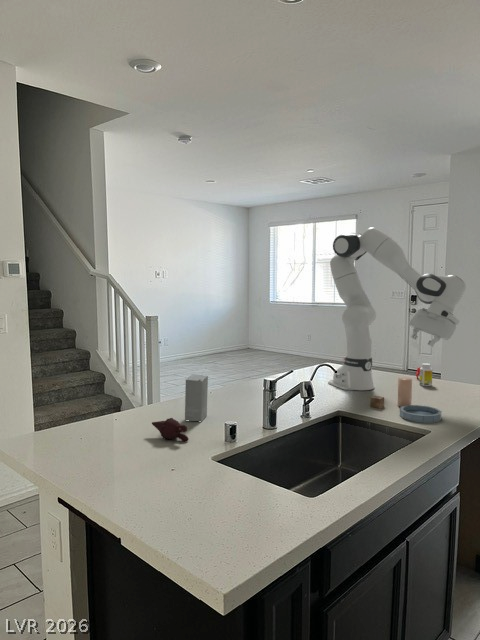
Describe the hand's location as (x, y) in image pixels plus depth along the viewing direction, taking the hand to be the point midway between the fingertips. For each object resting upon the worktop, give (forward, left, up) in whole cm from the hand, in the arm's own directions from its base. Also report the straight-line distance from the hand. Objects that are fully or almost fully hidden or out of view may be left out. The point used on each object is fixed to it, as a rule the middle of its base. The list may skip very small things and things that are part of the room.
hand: (421, 342), depth 193 cm
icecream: (-14, -106, -25) cm, 109 cm away
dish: (+14, -18, -25) cm, 34 cm away
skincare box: (-28, -89, -25) cm, 97 cm away
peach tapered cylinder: (+1, -11, -25) cm, 27 cm away
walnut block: (-4, -21, -25) cm, 33 cm away
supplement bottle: (-18, +27, -25) cm, 41 cm away
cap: (-27, +37, -25) cm, 52 cm away
